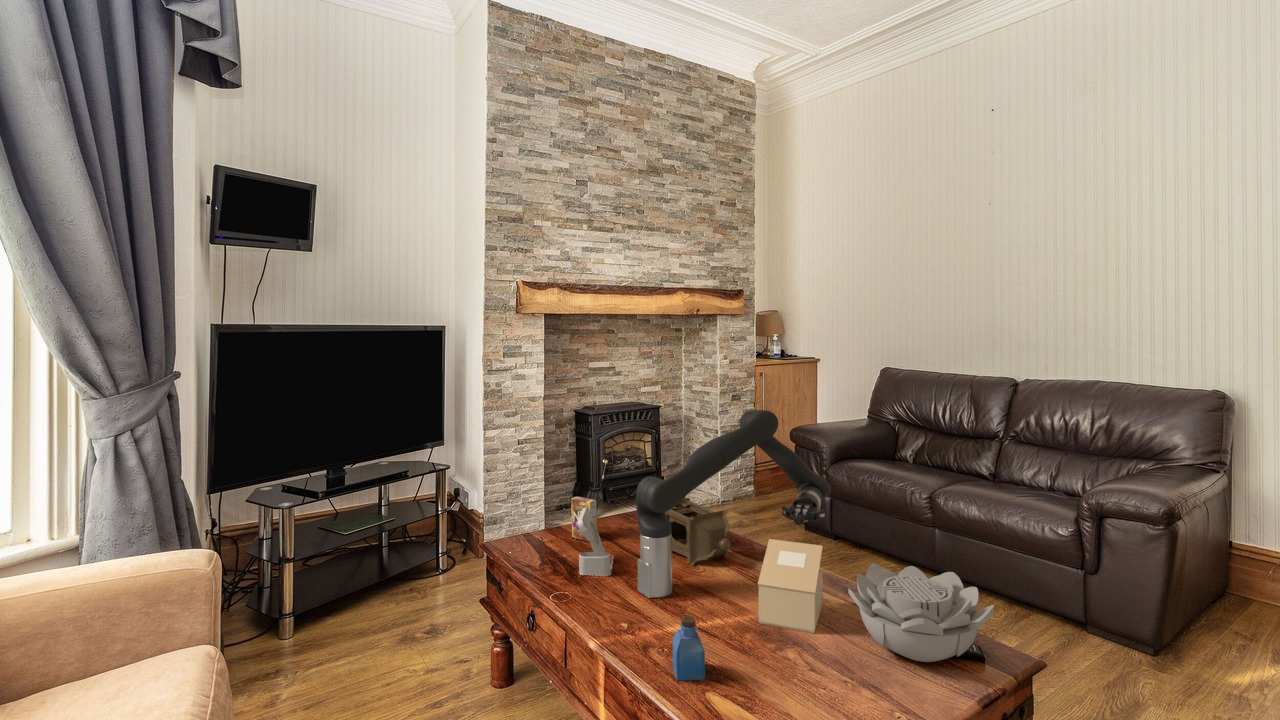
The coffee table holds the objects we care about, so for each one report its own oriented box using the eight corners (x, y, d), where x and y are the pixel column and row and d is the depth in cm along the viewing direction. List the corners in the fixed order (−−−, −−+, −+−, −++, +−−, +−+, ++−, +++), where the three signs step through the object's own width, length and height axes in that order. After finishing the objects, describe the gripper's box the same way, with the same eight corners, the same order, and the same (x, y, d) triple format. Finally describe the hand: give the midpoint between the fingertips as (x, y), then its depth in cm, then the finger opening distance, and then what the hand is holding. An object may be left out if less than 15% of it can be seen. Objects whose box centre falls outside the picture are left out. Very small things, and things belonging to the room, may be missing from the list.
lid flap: (769, 540, 170) (769, 538, 170) (822, 547, 164) (822, 545, 164) (757, 585, 157) (757, 583, 156) (815, 594, 151) (815, 592, 151)
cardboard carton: (770, 598, 172) (770, 563, 171) (822, 606, 166) (822, 570, 166) (758, 623, 157) (758, 585, 157) (814, 633, 152) (814, 594, 151)
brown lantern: (745, 572, 197) (752, 516, 197) (704, 578, 187) (711, 519, 187) (678, 540, 226) (684, 490, 226) (639, 544, 216) (645, 492, 216)
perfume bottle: (672, 665, 138) (672, 613, 138) (699, 663, 139) (699, 612, 138) (676, 680, 132) (676, 626, 131) (704, 679, 133) (704, 625, 132)
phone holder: (610, 577, 188) (609, 520, 187) (577, 577, 188) (576, 520, 187) (614, 556, 205) (613, 504, 204) (584, 556, 205) (583, 504, 204)
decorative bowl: (830, 618, 159) (830, 562, 159) (945, 619, 158) (946, 562, 158) (870, 686, 129) (871, 617, 128) (1013, 687, 128) (1014, 617, 127)
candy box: (571, 539, 222) (570, 498, 222) (578, 536, 226) (577, 495, 225) (590, 543, 218) (589, 501, 217) (597, 540, 221) (597, 498, 220)
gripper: (785, 490, 189) (774, 506, 173) (829, 494, 184) (822, 510, 168) (785, 514, 190) (774, 532, 174) (829, 518, 184) (822, 537, 168)
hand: (798, 521), depth 171 cm, fingers closed
